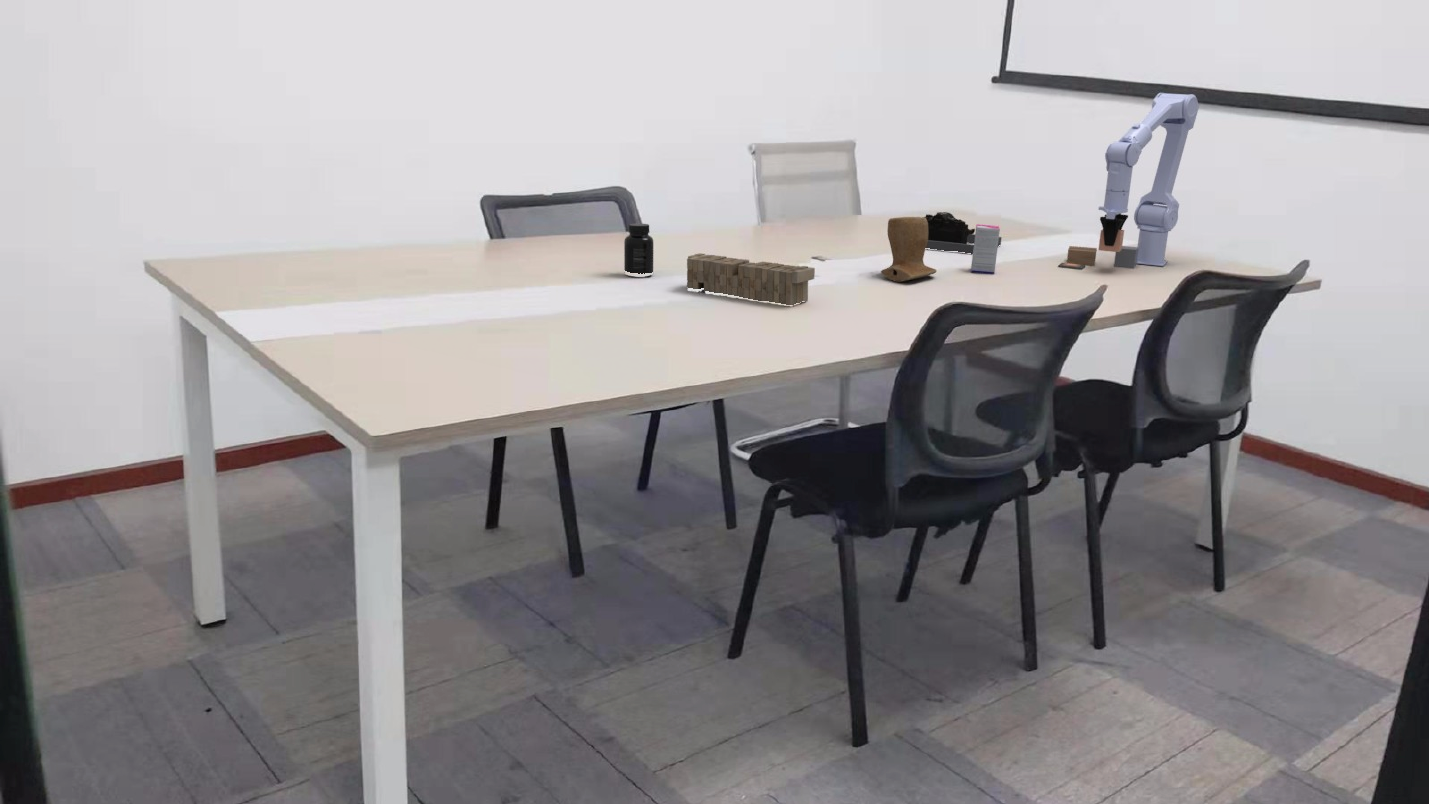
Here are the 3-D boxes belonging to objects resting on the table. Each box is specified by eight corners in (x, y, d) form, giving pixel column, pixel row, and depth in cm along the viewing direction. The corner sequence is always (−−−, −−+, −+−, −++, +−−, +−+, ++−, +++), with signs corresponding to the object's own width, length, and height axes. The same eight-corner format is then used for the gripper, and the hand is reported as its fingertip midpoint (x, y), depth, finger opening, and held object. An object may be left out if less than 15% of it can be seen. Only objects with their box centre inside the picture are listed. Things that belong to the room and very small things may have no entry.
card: (1061, 264, 308) (1061, 261, 308) (1085, 266, 305) (1085, 264, 305) (1057, 267, 304) (1058, 264, 303) (1081, 269, 301) (1081, 267, 301)
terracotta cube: (1101, 247, 302) (1104, 228, 301) (1121, 249, 300) (1124, 230, 299) (1098, 250, 298) (1100, 230, 297) (1118, 252, 296) (1121, 232, 295)
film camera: (984, 248, 330) (987, 212, 327) (968, 254, 320) (972, 217, 317) (924, 241, 339) (927, 206, 336) (908, 246, 329) (910, 211, 326)
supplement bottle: (658, 274, 277) (659, 224, 274) (644, 279, 271) (645, 227, 268) (632, 271, 280) (633, 221, 276) (618, 276, 274) (619, 224, 270)
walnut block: (1067, 260, 315) (1069, 245, 314) (1094, 262, 313) (1096, 248, 312) (1066, 264, 309) (1068, 249, 308) (1094, 267, 307) (1096, 251, 306)
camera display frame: (919, 237, 344) (920, 229, 344) (1000, 245, 334) (1001, 237, 334) (898, 246, 327) (898, 237, 327) (983, 255, 317) (984, 246, 316)
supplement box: (995, 274, 291) (999, 228, 287) (970, 272, 292) (975, 227, 289) (994, 270, 296) (999, 225, 293) (970, 268, 297) (975, 223, 294)
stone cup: (900, 270, 292) (904, 210, 288) (942, 277, 285) (947, 215, 280) (867, 278, 281) (871, 215, 276) (910, 285, 274) (915, 221, 269)
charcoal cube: (1116, 264, 311) (1119, 245, 310) (1136, 266, 309) (1138, 247, 308) (1113, 267, 307) (1116, 248, 306) (1133, 269, 305) (1136, 250, 303)
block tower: (681, 295, 261) (796, 309, 246) (680, 257, 258) (797, 269, 243) (700, 289, 267) (814, 303, 252) (700, 252, 265) (815, 264, 250)
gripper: (1105, 186, 303) (1099, 238, 307) (1096, 192, 290) (1089, 246, 294) (1134, 188, 300) (1127, 241, 304) (1126, 194, 287) (1118, 249, 291)
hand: (1110, 244), depth 299 cm, fingers closed on terracotta cube, 5 cm apart
